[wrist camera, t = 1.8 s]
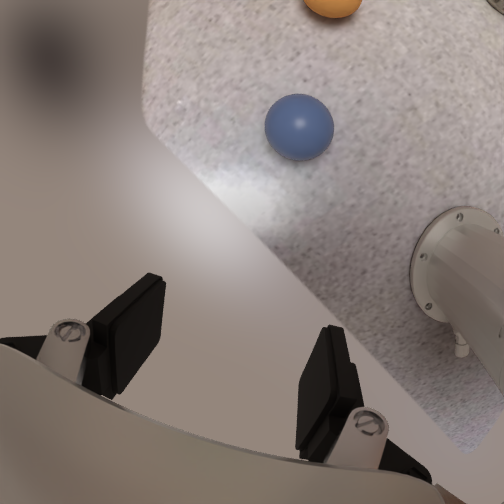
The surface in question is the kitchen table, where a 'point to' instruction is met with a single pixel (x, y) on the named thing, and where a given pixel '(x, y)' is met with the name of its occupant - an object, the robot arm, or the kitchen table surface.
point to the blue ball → (299, 127)
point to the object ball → (333, 7)
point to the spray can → (497, 5)
